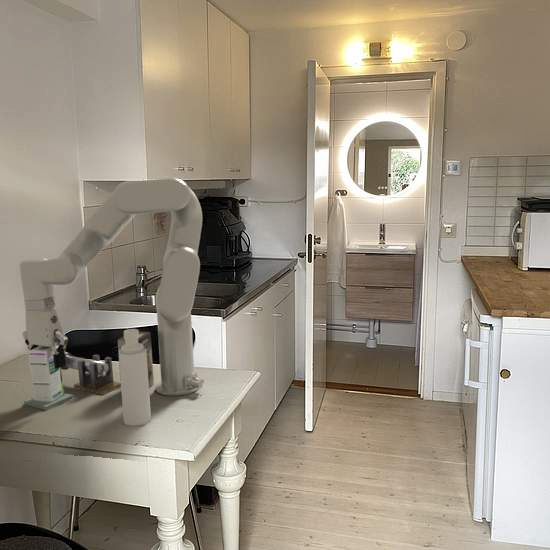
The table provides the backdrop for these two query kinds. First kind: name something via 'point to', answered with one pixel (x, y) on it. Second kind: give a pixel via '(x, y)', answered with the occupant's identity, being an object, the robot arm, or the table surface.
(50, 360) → the syrup box
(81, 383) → the bracket
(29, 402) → the grey-green square pad
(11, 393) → the table surface
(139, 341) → the coffee box
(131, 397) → the spray bottle
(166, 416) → the table surface
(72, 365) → the shaft
